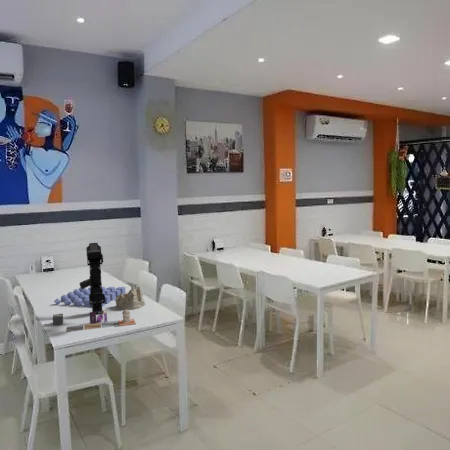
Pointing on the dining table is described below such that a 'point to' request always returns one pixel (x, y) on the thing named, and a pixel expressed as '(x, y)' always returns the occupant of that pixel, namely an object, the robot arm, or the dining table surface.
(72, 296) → the blocks
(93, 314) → the game card
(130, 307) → the sand castle
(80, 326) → the game board
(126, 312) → the pawn
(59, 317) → the die
